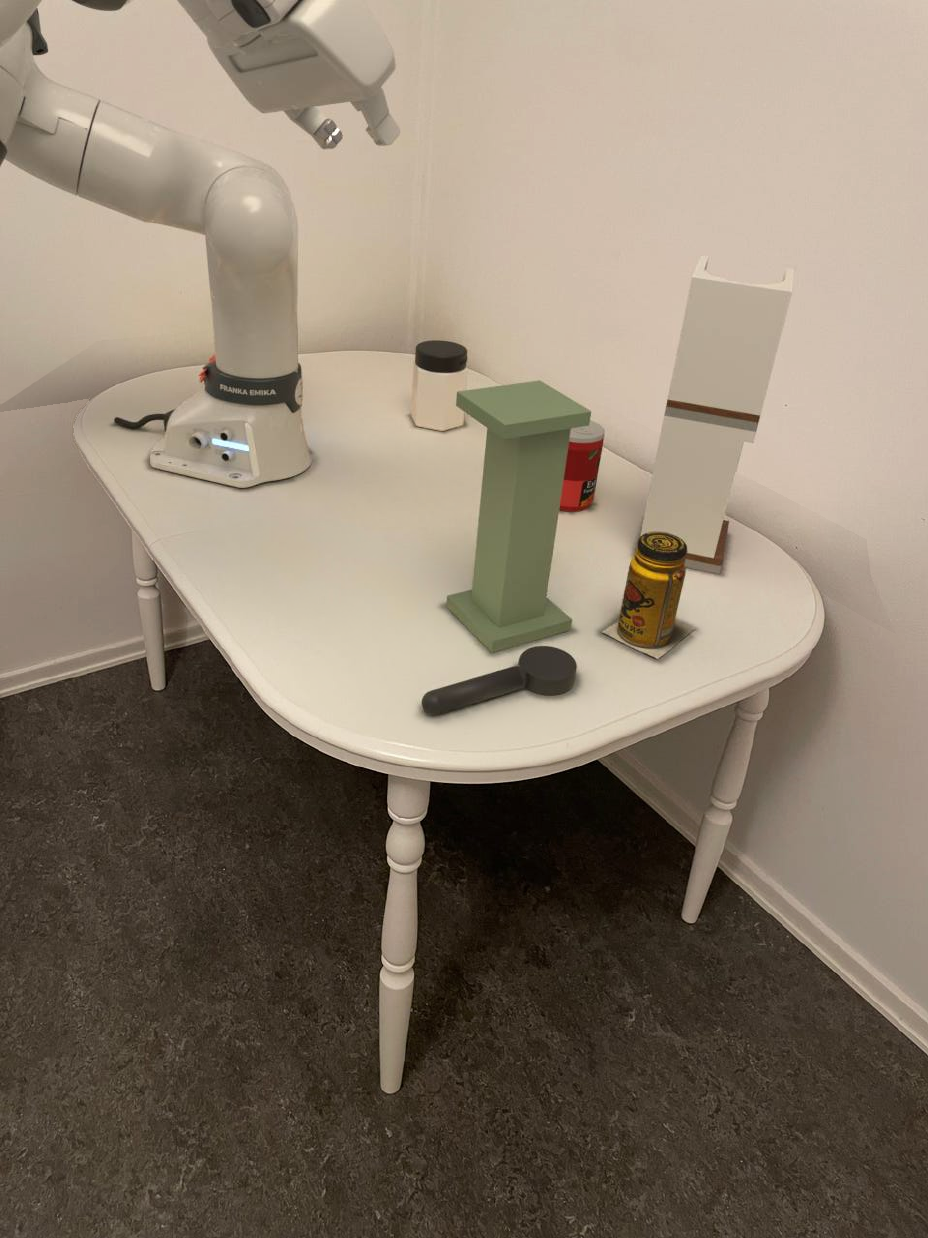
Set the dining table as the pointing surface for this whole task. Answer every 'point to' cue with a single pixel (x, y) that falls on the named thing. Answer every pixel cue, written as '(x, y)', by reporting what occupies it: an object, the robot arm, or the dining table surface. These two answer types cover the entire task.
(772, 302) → the white channel column
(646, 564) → the condiment
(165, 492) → the dining table surface
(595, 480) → the canned food
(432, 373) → the jar
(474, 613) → the stand
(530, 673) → the dark grey paddle
